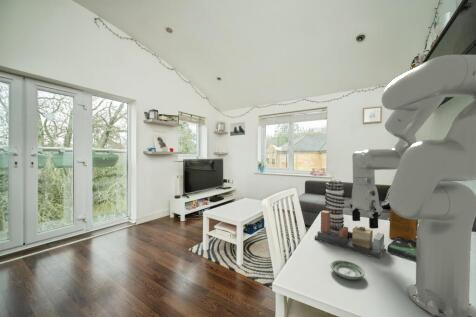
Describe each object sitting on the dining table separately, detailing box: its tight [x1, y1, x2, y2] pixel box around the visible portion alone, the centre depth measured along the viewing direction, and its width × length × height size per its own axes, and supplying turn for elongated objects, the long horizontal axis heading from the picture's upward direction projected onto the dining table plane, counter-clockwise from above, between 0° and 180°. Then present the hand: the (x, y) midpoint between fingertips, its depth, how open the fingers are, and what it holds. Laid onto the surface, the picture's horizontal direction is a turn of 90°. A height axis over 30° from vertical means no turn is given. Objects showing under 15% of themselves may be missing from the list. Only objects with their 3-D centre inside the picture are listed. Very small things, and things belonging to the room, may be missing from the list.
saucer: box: [329, 259, 366, 280], centre depth 64 cm, size 10×10×2 cm
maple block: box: [352, 225, 374, 249], centre depth 82 cm, size 5×6×7 cm
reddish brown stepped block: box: [320, 210, 349, 238], centre depth 90 cm, size 7×10×10 cm
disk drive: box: [386, 237, 417, 261], centre depth 79 cm, size 10×3×15 cm
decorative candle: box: [324, 179, 346, 229], centre depth 100 cm, size 9×9×25 cm
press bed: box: [314, 227, 386, 259], centre depth 86 cm, size 11×24×6 cm, turn 44°
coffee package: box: [388, 208, 419, 241], centre depth 91 cm, size 10×12×22 cm
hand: (364, 224), depth 80 cm, fingers open, 9 cm apart
